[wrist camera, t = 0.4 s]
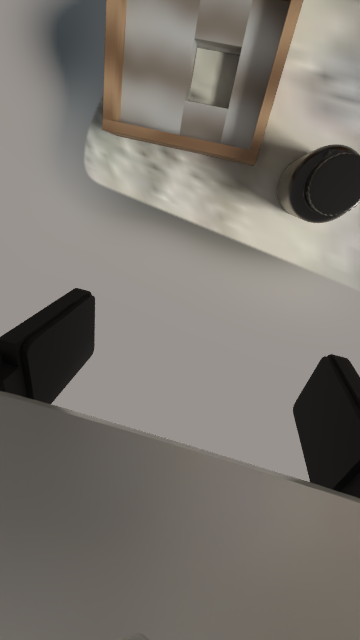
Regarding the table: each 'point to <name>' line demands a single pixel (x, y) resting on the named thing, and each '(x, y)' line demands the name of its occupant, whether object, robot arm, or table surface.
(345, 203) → the supplement bottle
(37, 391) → the robot arm
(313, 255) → the table surface
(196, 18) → the wooden rectangular frame
